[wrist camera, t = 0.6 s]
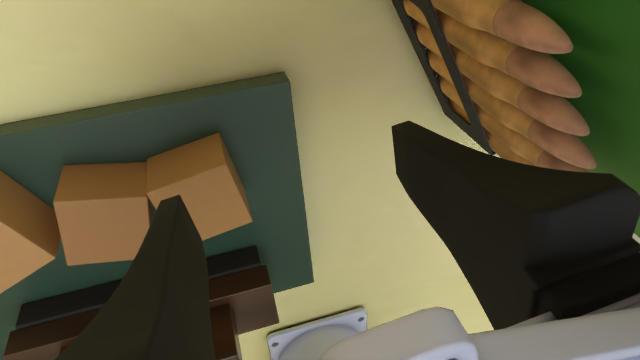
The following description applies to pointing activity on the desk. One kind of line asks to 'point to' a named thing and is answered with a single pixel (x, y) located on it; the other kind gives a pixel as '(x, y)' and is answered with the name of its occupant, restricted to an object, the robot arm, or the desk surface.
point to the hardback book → (604, 78)
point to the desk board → (155, 138)
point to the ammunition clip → (501, 78)
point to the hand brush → (83, 305)
